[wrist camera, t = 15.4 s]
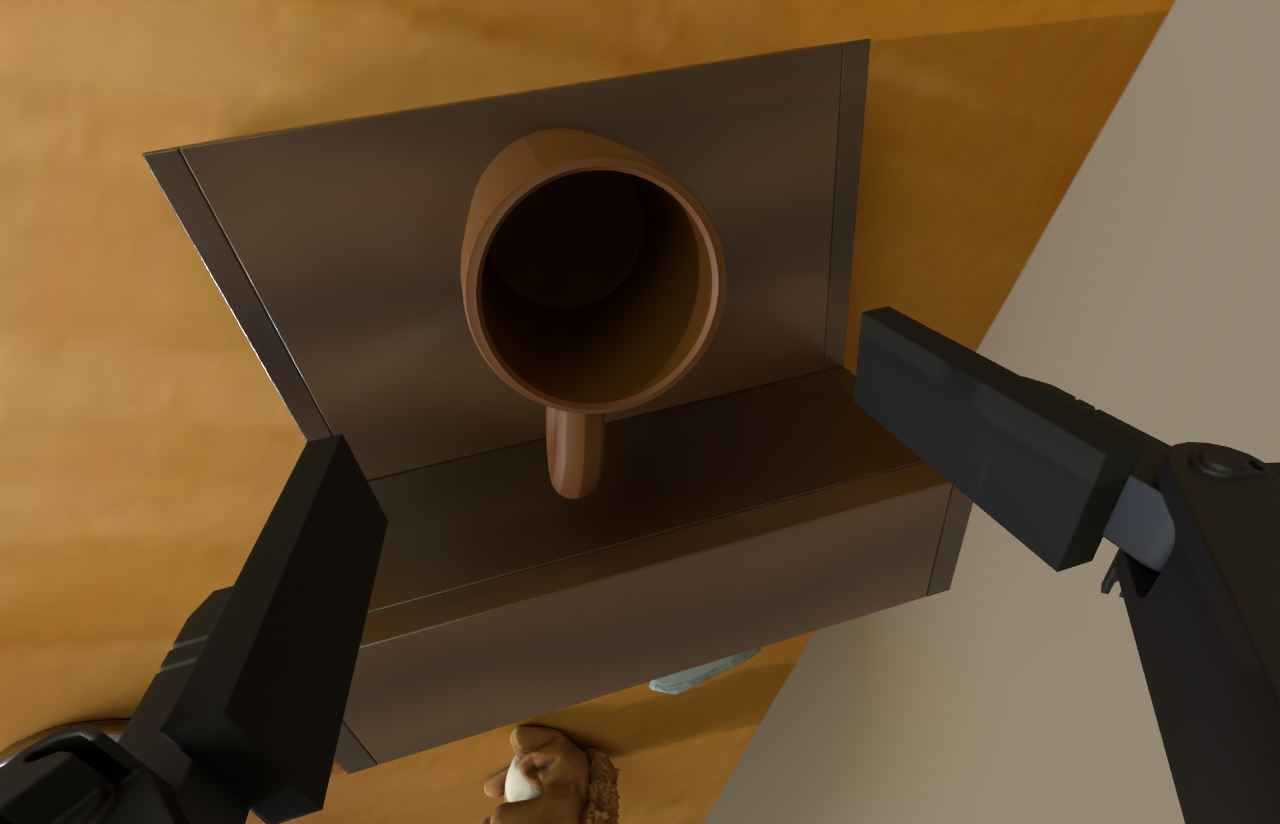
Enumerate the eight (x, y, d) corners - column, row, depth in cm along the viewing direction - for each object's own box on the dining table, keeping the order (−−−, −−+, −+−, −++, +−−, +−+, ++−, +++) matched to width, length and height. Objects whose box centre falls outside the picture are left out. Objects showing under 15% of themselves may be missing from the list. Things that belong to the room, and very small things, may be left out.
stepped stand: (215, 139, 23) (-160, 207, 10) (799, 48, 27) (1109, 6, 13) (402, 513, 35) (347, 775, 22) (790, 416, 38) (949, 590, 25)
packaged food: (604, 619, 45) (616, 673, 41) (731, 554, 44) (756, 602, 40) (645, 667, 50) (660, 719, 46) (760, 609, 49) (784, 657, 45)
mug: (627, 399, 28) (681, 523, 20) (471, 398, 25) (462, 535, 18) (664, 139, 22) (762, 169, 14) (468, 110, 20) (452, 125, 12)
